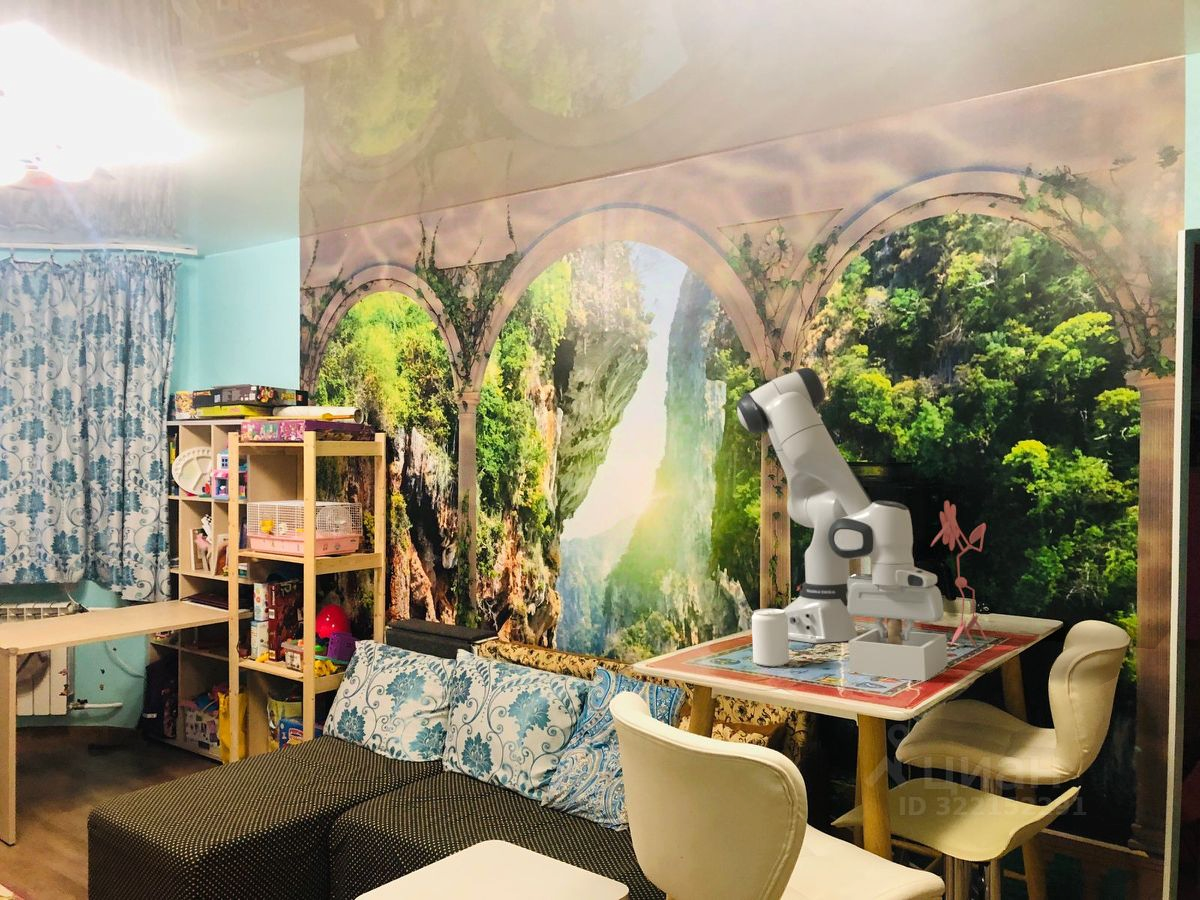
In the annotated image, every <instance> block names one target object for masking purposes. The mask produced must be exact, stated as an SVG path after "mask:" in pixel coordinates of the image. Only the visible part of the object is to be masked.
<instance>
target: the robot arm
mask: <svg viewBox="0 0 1200 900" xmlns="http://www.w3.org/2000/svg"><path fill="white" fill-rule="evenodd" d="M825 399H826V389H825V383H824V382H823V380H822V378H821V376H820V375H819V374H818V373H817V372H816V371H815V370H814V369H813V368H810V367H802V368H798V369H795V370H794V371H793V372H790V373H787V374H784V375H781V376H779V377H778V376H777V377H776V378H773V379H772V380H771V381H769V382H767V383H764V384H762V385H761V386H759V387H758V388H756V389H755V390H753V391H751V392H749V393H748V392H746V393H745V394H744V395H742V396H741V397H739V399H738V400H737V403H736V407H737V409H736V410H737V413H736V414H737V417H738V420H739V423H740V424H741V425H742V427H743V428H744V429H745V430H747V431H748V432H749V433H750V434H753V435H759V434H765V433H768V435H769V439H770V441H771V445H772V447H773V449H774V452H775V453H776V456H777V458H778V461H779V462H780V465H781V467H782V469H783V471H784V475H785V477H786V481H787V486H788V491H789V492H788V493H789V496H788V500H787V503H786V510H787V513H788V516H789V517H790V519H791V520H793V522H795V523H797V524H798V525H801V526H803V527H806V528H811V529H813V535H812V540H811V542H810V545H809V546H808V547H807V549H806V550H805V552H804V570H805V571H804V572H805V573H804V574H805V581H804V582H803V583H801V584H799V585H797V586H796V588H797V589H796V591H799V596H798V597H797V598H795V599H794V600H793V601H792V602H791V603H790V604H788V605H786V606H785V607H784V608H783V609H782V610H784V611H785V614H786V615H787V618H788V640H791V641H798V642H806V643H812V644H823V643H835V642H837V643H838V642H847V641H848V642H849V641H850V640H852V639H854V638H856V637H858V636H859V634H858V632H857V628H856V625H855V622H854V617H865V618H874V624H875V625H876V626H877V629H879V630H880V635H881V638H884V639H888V628H886V626H885V623H884V622H885V619H887V618H889V619H902V621H903V620H904V625H905V626H906V628H905V630H902V632H900V636H901V637H900V639H901V640H905V641H908V640H910V631H911V632H912V630H913V627H914V626H915V623H916V622H929V623H930V622H931V623H937V622H940V621H941V620H942V619H943V618H944V604H943V603H944V602H943V598H942V592H941V590H940V589H939V587H938V586H936V584H937V583H938V576H937V575H936V574H935V573H932V572H930V571H927V570H924V569H922V568H918V567H917V566H915V562H914V557H913V553H912V547H913V544H914V535H913V534H914V533H913V525H912V518H911V513H910V510H909V508H908V507H907V506H906V505H905V504H903V503H900V502H897V501H892V500H875V501H873V502H872V500H871V498H870V497H869V495H868V494H867V492H866V489H864V487H863V485H862V483H861V482H860V480H859V479H858V477H857V476H856V474H855V473H854V471H853V469H852V468H851V467H850V465H849V463H848V462H847V461H846V459H845V458H844V456H843V455H842V453H841V451H840V450H839V449H838V448H837V445H836V444H835V442H834V440H833V438H832V436H831V435H830V433H829V431H828V430H827V427H826V426H825V424H824V422H823V420H822V418H821V416H820V415H819V413H818V412H817V410H816V409H817V408H819V407H820V406H821V405H822V404H823V403H824V401H825ZM867 557H869V558H870V560H871V574H868V573H853V574H852V575H850V560H855V559H862V558H867ZM915 621H916V622H915Z"/></svg>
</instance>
